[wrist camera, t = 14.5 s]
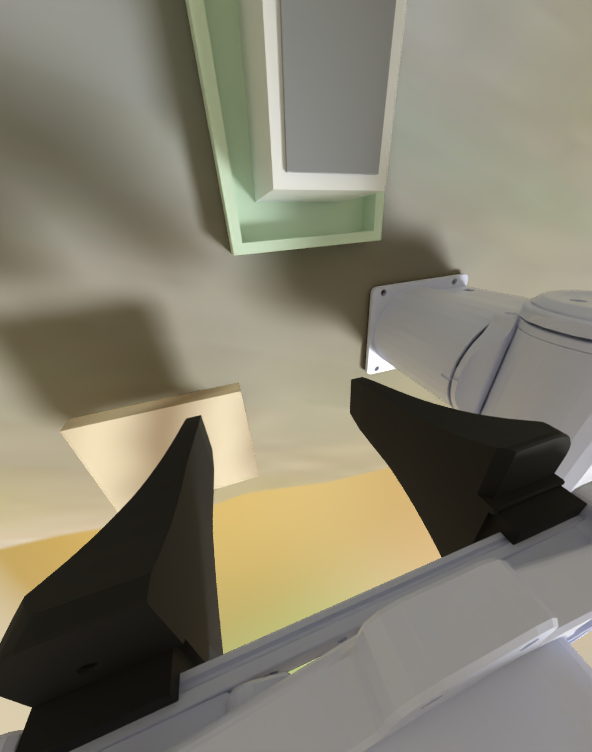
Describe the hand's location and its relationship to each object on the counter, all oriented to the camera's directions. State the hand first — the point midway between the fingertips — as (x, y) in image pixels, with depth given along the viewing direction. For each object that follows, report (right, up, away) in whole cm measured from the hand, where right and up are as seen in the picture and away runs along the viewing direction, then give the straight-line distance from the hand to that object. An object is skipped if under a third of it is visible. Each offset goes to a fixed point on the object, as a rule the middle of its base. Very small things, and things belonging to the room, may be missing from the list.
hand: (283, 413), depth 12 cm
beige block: (-8, 0, +8) cm, 12 cm away
